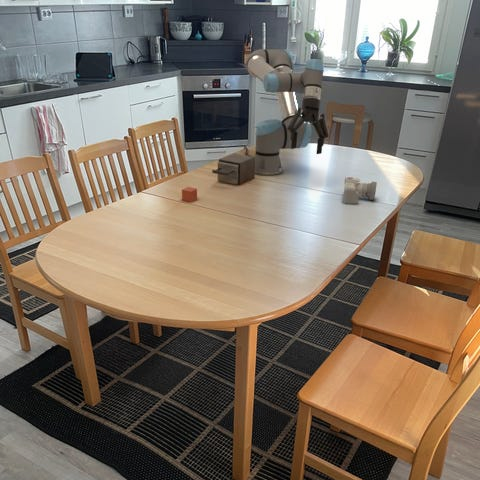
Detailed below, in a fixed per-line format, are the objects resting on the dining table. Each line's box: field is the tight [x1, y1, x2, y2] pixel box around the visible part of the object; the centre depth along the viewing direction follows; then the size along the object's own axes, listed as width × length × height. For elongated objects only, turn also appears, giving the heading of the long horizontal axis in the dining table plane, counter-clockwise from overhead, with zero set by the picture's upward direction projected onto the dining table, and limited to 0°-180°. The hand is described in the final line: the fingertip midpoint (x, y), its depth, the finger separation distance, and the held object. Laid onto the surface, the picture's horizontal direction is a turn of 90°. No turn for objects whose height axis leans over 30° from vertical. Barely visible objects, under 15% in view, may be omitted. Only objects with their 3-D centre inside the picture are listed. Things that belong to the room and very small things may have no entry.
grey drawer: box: [211, 161, 239, 185], centre depth 223 cm, size 19×10×8 cm, turn 149°
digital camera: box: [342, 176, 378, 205], centre depth 208 cm, size 17×14×10 cm
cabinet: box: [218, 152, 255, 186], centre depth 227 cm, size 13×11×10 cm
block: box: [181, 186, 198, 203], centre depth 204 cm, size 4×4×4 cm
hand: (306, 151), depth 213 cm, fingers open, 13 cm apart
